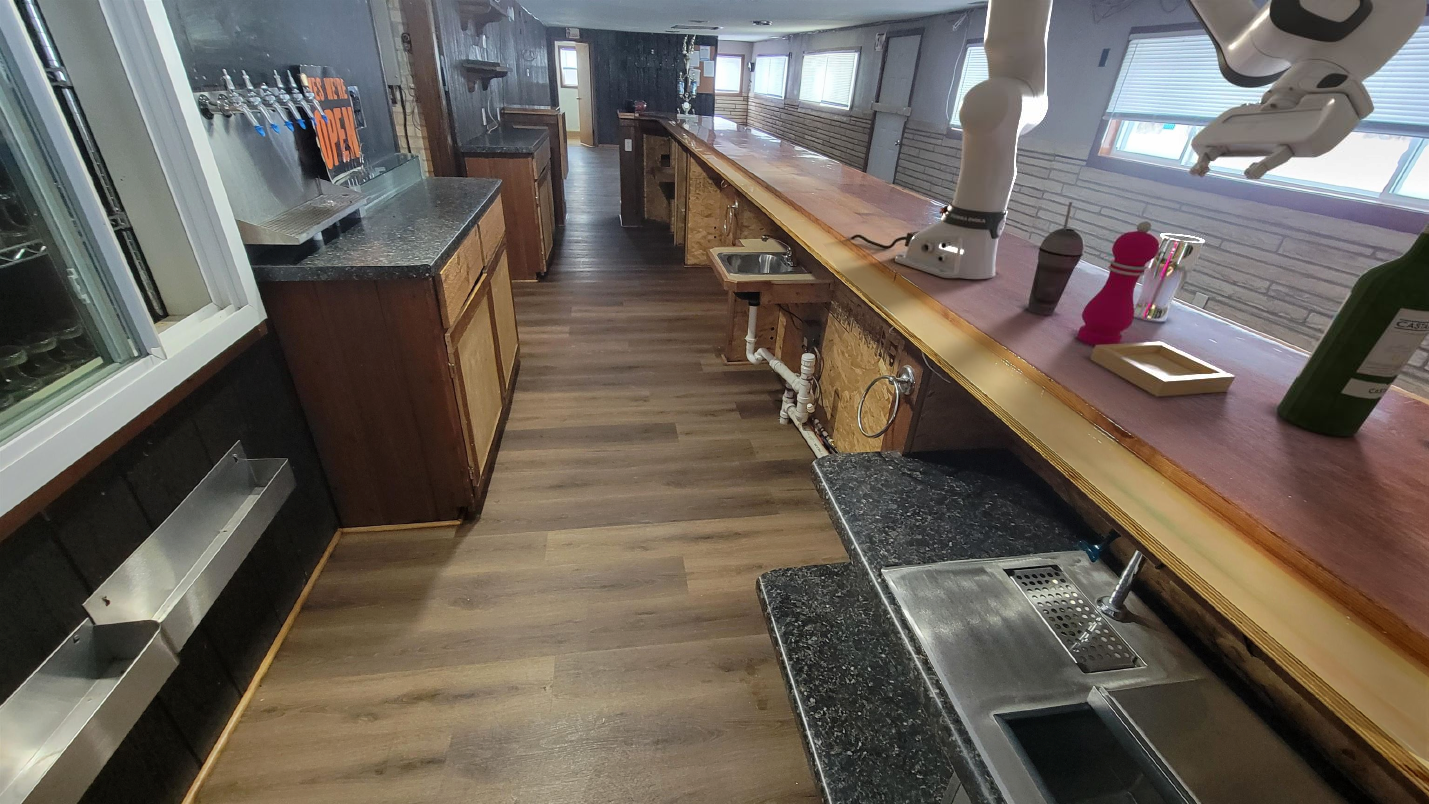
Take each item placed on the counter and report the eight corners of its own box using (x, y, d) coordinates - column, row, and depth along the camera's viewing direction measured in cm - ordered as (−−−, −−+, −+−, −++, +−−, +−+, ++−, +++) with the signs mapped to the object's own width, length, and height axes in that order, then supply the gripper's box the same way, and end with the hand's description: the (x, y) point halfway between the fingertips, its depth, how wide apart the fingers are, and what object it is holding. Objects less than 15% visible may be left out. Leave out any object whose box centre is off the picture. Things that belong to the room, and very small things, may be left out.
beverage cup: (1045, 319, 105) (1084, 208, 95) (1011, 307, 110) (1045, 200, 100) (1069, 314, 108) (1110, 206, 98) (1035, 302, 113) (1070, 198, 103)
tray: (1089, 359, 90) (1095, 344, 89) (1153, 355, 92) (1160, 341, 91) (1157, 397, 79) (1165, 381, 78) (1227, 391, 82) (1235, 376, 81)
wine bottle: (1344, 444, 70) (1527, 191, 55) (1265, 415, 76) (1412, 179, 61) (1363, 428, 74) (1538, 187, 59) (1287, 401, 80) (1429, 176, 65)
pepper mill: (1125, 341, 97) (1178, 222, 87) (1116, 353, 92) (1170, 229, 82) (1079, 329, 101) (1124, 214, 91) (1068, 339, 97) (1114, 220, 87)
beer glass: (1155, 311, 112) (1190, 234, 104) (1176, 324, 105) (1215, 244, 98) (1118, 308, 112) (1150, 232, 105) (1137, 321, 106) (1173, 241, 99)
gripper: (1227, 91, 93) (1156, 161, 96) (1370, 74, 74) (1276, 162, 77) (1244, 119, 95) (1175, 186, 98) (1388, 109, 76) (1296, 193, 79)
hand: (1220, 175), depth 88 cm, fingers open, 8 cm apart
